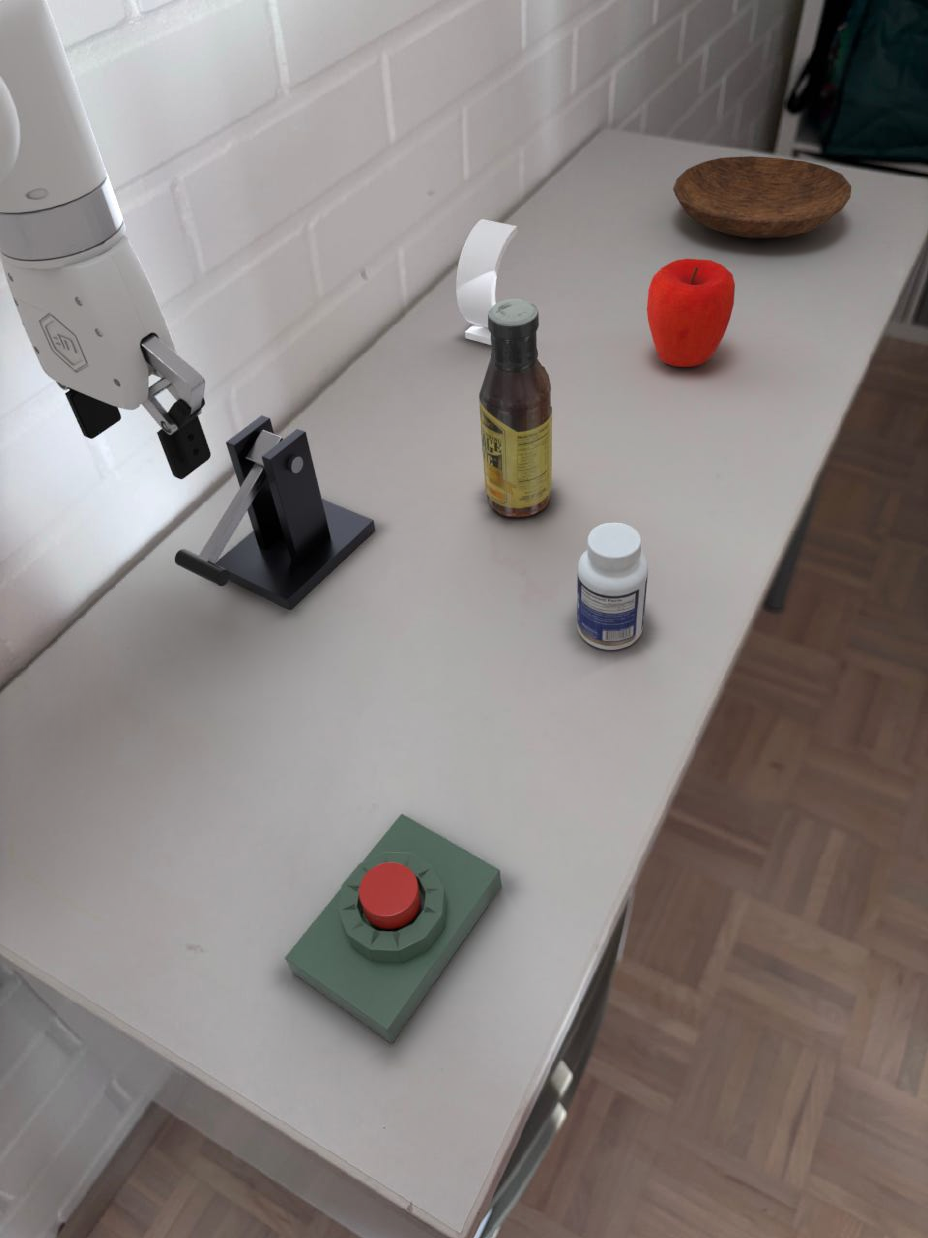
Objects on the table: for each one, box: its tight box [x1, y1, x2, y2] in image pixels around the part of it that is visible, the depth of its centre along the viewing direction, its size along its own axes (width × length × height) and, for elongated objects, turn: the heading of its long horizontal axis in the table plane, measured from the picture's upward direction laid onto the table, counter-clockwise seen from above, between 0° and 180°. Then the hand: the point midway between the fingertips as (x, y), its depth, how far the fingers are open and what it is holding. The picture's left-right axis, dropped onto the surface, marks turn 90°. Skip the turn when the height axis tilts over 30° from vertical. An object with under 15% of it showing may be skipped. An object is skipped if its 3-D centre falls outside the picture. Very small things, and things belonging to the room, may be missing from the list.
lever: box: [174, 430, 284, 587], centre depth 78 cm, size 13×5×2 cm, turn 146°
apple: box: [646, 258, 736, 368], centre depth 100 cm, size 9×9×11 cm
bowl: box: [672, 155, 852, 239], centre depth 123 cm, size 20×22×5 cm
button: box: [359, 862, 421, 929], centre depth 58 cm, size 4×4×2 cm
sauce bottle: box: [478, 298, 553, 518], centre depth 82 cm, size 7×6×20 cm
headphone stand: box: [455, 218, 518, 346], centre depth 106 cm, size 5×6×12 cm
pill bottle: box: [576, 522, 649, 651], centre depth 74 cm, size 5×5×10 cm
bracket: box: [215, 414, 376, 611], centre depth 82 cm, size 12×9×13 cm
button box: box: [284, 813, 502, 1044], centre depth 60 cm, size 12×8×4 cm, turn 146°
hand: (147, 447), depth 69 cm, fingers open, 9 cm apart
